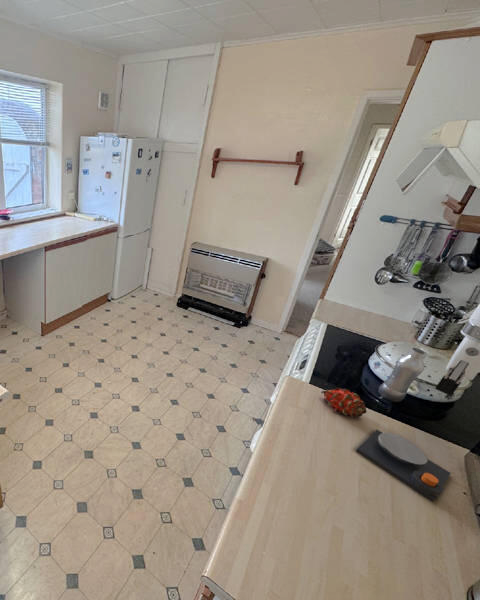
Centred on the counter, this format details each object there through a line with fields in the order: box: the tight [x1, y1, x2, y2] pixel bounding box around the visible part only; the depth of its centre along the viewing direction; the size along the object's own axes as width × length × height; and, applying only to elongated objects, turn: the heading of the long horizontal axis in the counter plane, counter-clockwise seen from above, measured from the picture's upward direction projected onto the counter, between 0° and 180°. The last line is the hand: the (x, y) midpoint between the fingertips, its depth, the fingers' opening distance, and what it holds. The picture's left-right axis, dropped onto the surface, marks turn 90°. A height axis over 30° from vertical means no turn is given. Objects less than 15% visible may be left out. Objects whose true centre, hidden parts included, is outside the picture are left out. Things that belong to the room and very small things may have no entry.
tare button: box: [421, 473, 439, 487], centre depth 79 cm, size 3×3×2 cm
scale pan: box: [378, 432, 428, 466], centre depth 87 cm, size 10×10×1 cm
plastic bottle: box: [377, 347, 428, 403], centre depth 108 cm, size 6×7×20 cm
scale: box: [355, 429, 452, 503], centre depth 86 cm, size 16×14×4 cm
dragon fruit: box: [320, 387, 367, 419], centre depth 103 cm, size 8×8×12 cm
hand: (443, 391), depth 86 cm, fingers closed
